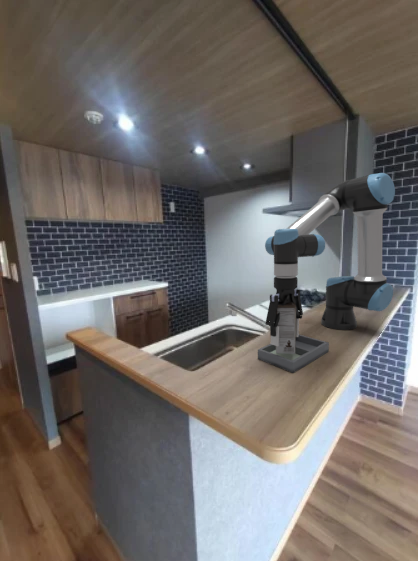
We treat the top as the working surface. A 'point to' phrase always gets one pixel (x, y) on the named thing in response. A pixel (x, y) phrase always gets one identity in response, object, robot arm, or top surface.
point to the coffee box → (287, 328)
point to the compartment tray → (304, 353)
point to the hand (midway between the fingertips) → (285, 340)
